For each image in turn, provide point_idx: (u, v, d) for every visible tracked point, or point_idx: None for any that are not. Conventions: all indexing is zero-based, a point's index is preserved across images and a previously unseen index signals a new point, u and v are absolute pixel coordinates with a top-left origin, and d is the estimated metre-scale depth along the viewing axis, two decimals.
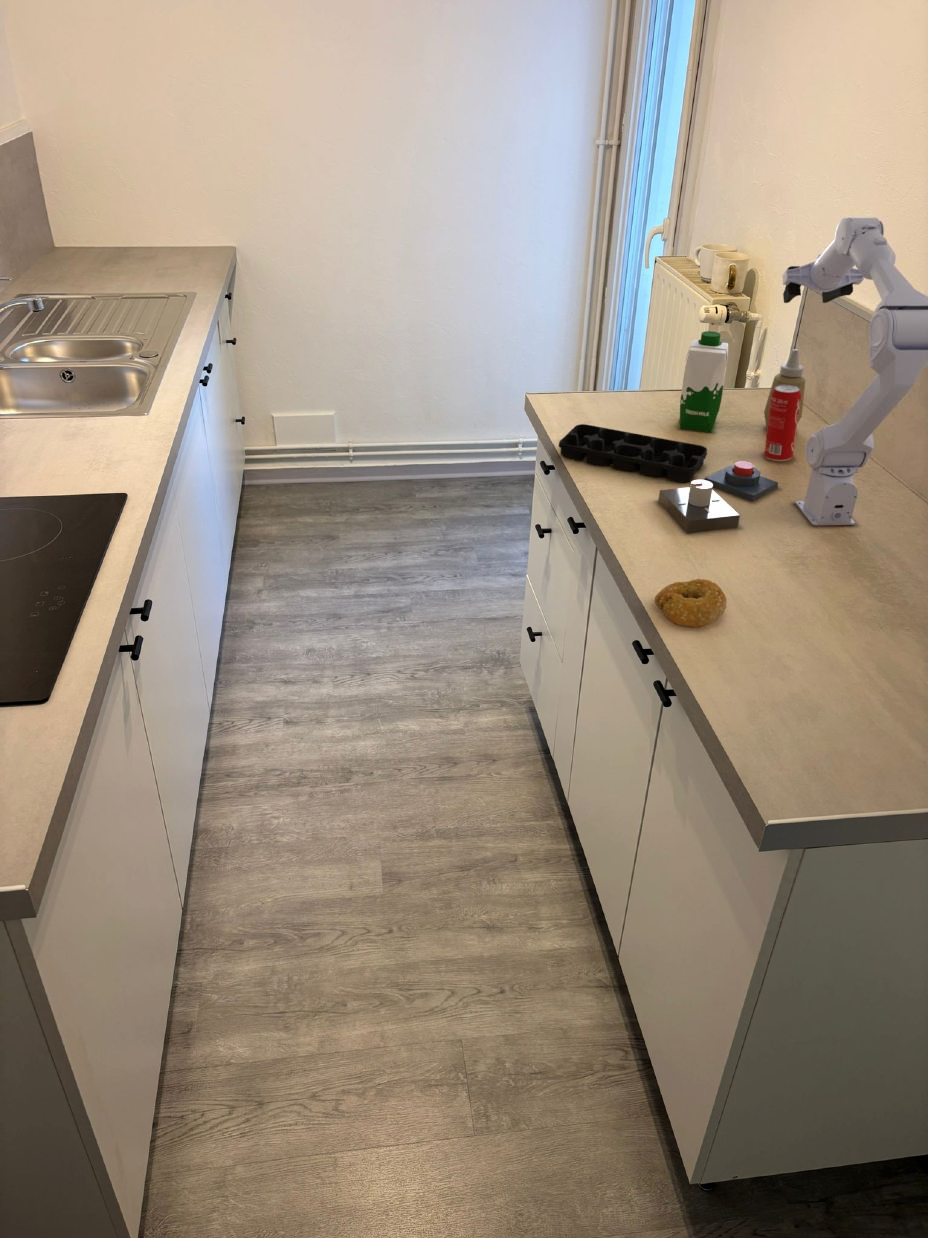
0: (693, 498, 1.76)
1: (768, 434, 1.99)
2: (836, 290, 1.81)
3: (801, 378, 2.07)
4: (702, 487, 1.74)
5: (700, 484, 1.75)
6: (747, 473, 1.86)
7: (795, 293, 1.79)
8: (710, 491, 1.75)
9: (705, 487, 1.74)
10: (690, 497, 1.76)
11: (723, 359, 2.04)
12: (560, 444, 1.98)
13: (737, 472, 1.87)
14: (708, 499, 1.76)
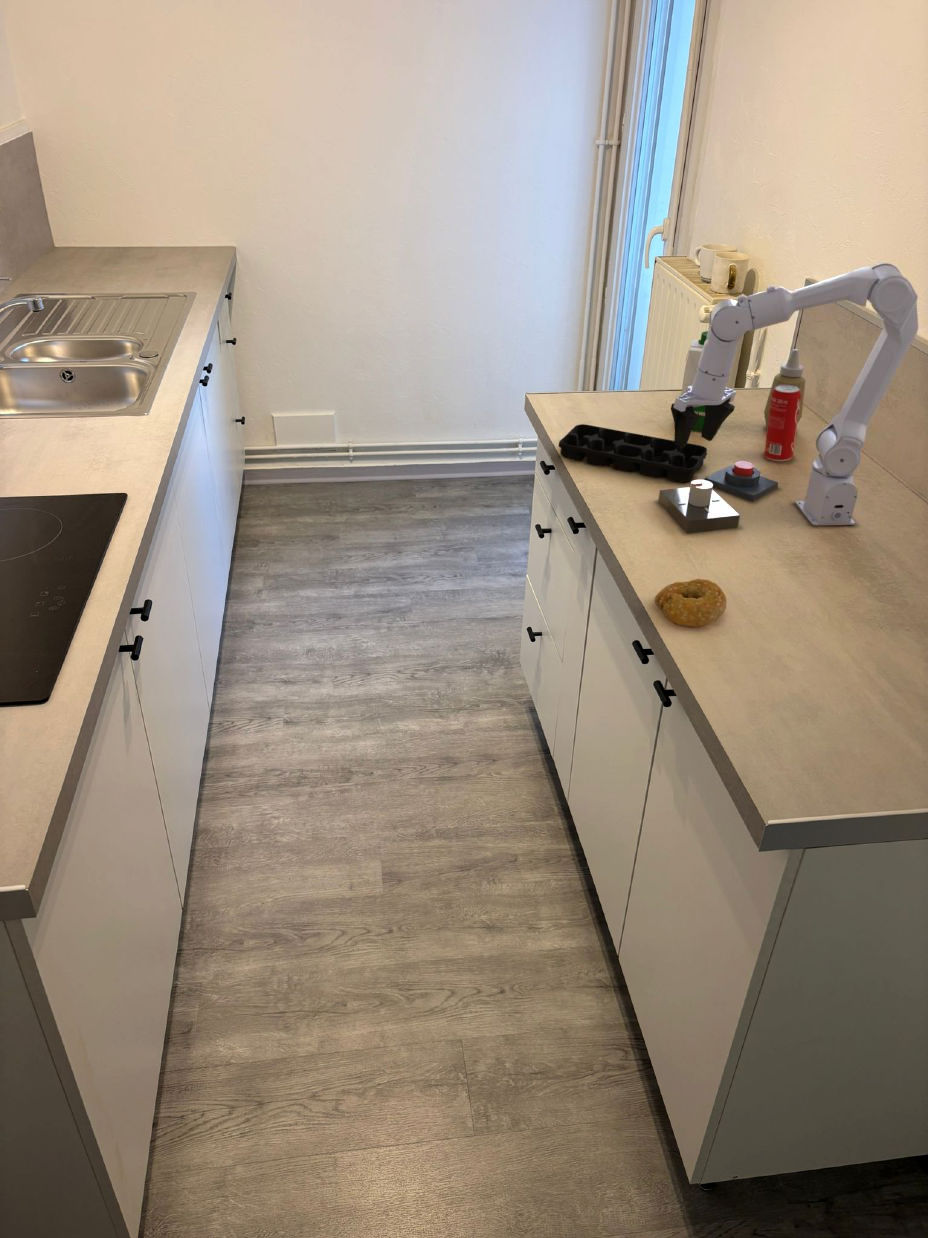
0: (693, 498, 1.76)
1: (768, 434, 1.99)
2: (719, 413, 1.75)
3: (801, 378, 2.07)
4: (702, 487, 1.74)
5: (700, 484, 1.75)
6: (747, 473, 1.86)
7: (696, 415, 1.69)
8: (710, 491, 1.75)
9: (705, 487, 1.74)
10: (690, 497, 1.76)
11: None
12: (560, 444, 1.98)
13: (737, 472, 1.87)
14: (708, 499, 1.76)
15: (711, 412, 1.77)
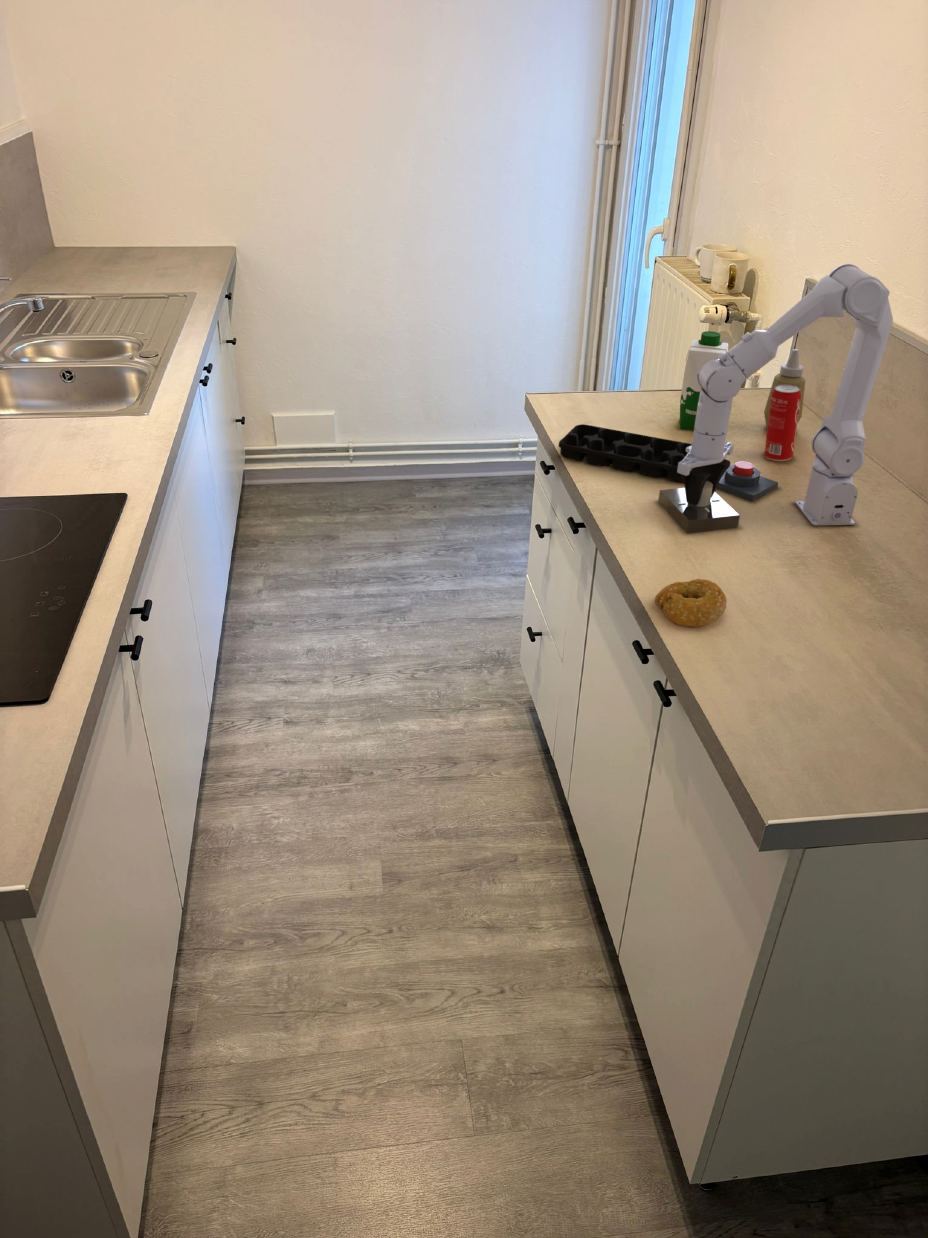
0: None
1: (768, 434, 1.99)
2: (716, 470, 1.75)
3: (801, 378, 2.07)
4: None
5: None
6: (747, 473, 1.86)
7: (706, 474, 1.70)
8: (710, 491, 1.75)
9: (705, 487, 1.74)
10: None
11: None
12: (560, 444, 1.98)
13: (737, 472, 1.87)
14: (708, 499, 1.76)
15: (707, 470, 1.76)
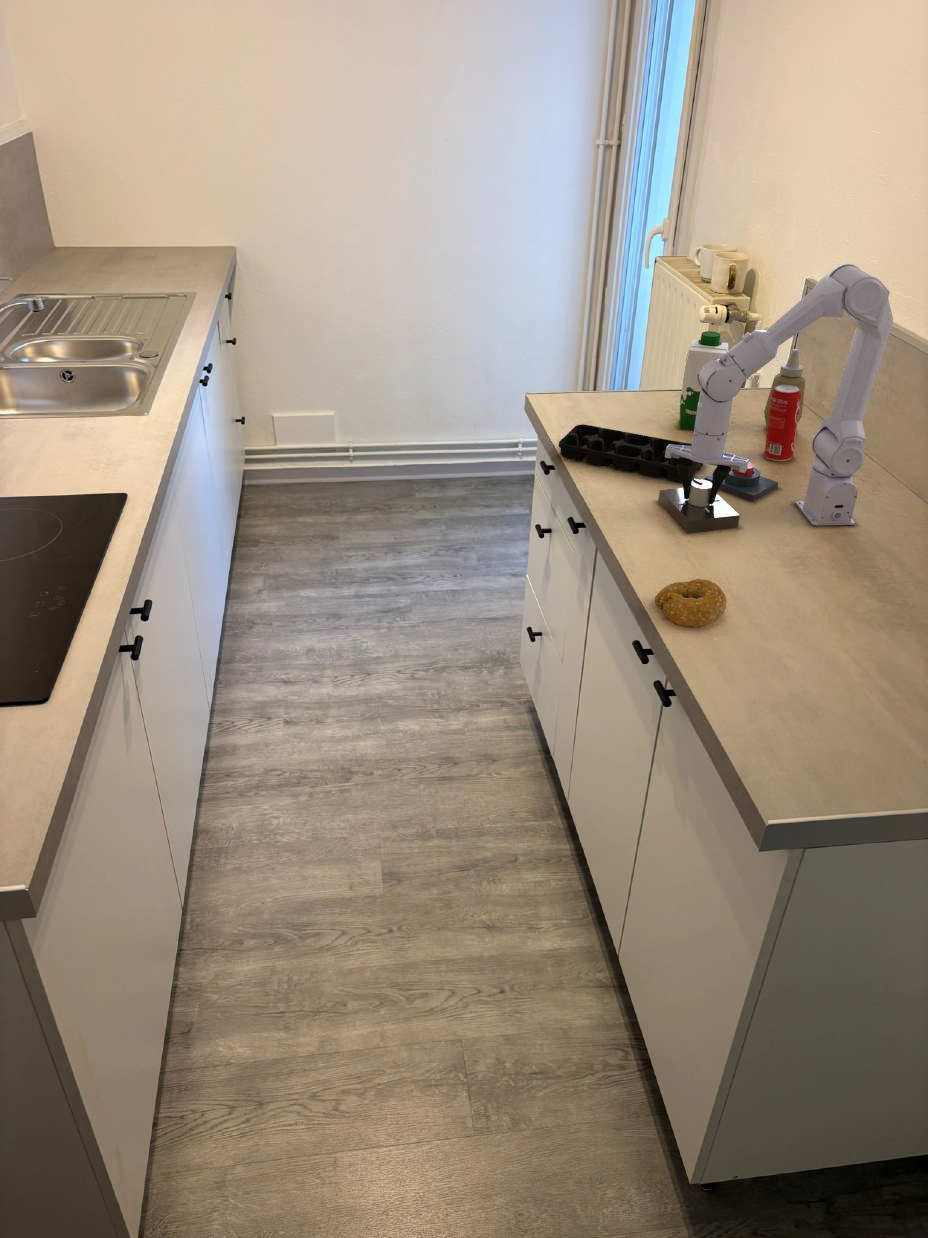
0: None
1: (768, 434, 1.99)
2: None
3: (801, 378, 2.07)
4: (694, 484, 1.75)
5: (698, 483, 1.76)
6: (747, 473, 1.86)
7: (683, 466, 1.73)
8: (699, 492, 1.74)
9: (696, 485, 1.75)
10: None
11: None
12: (560, 444, 1.98)
13: (737, 472, 1.87)
14: (696, 499, 1.75)
15: None
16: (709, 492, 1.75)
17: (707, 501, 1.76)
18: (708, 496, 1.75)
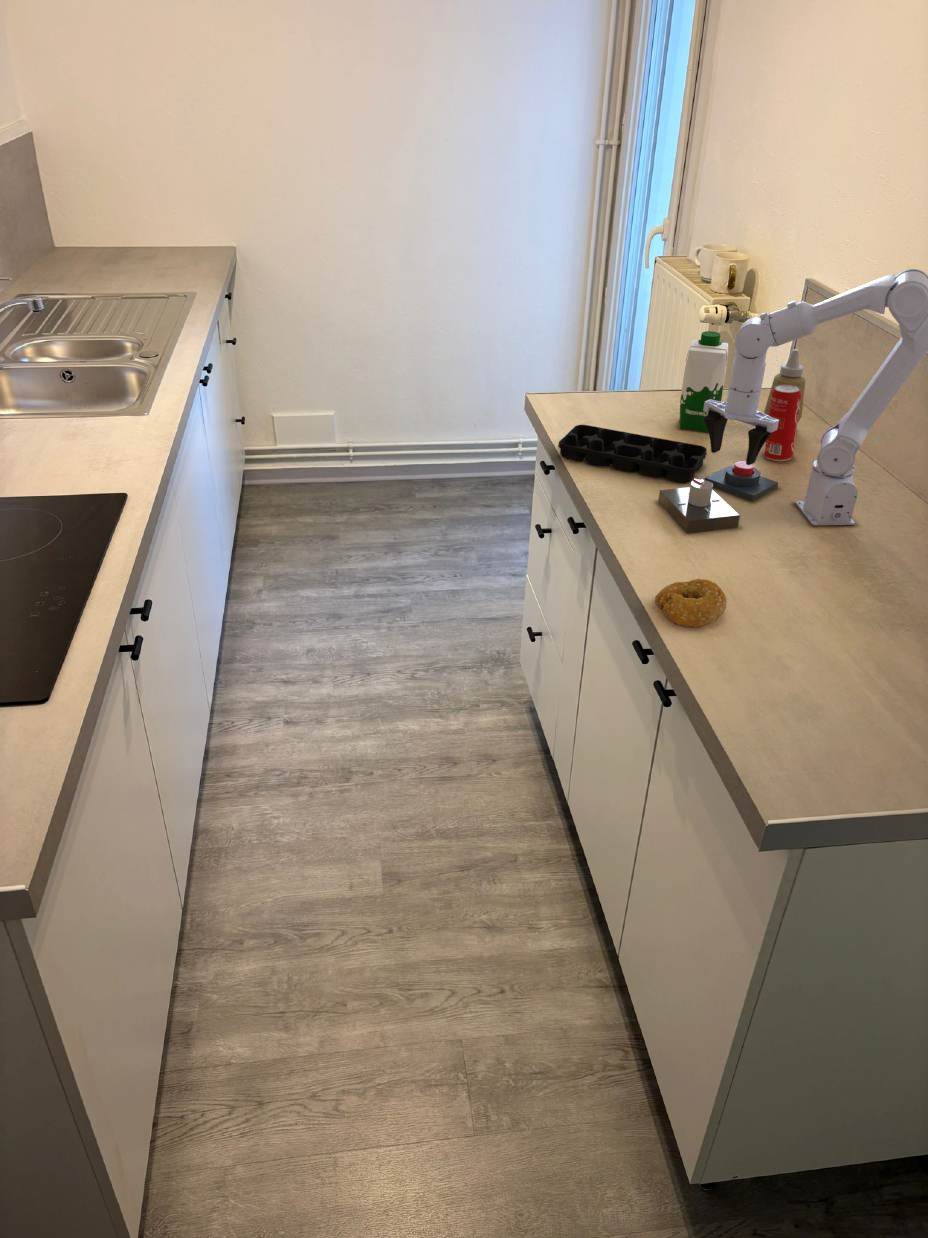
0: None
1: None
2: (724, 422, 1.82)
3: (801, 378, 2.07)
4: (694, 484, 1.75)
5: (698, 483, 1.76)
6: (747, 473, 1.86)
7: None
8: (699, 492, 1.74)
9: (696, 485, 1.75)
10: None
11: (723, 359, 2.04)
12: (560, 444, 1.98)
13: (737, 472, 1.87)
14: (696, 499, 1.75)
15: (718, 427, 1.81)
16: (709, 492, 1.75)
17: (707, 501, 1.76)
18: (708, 496, 1.75)
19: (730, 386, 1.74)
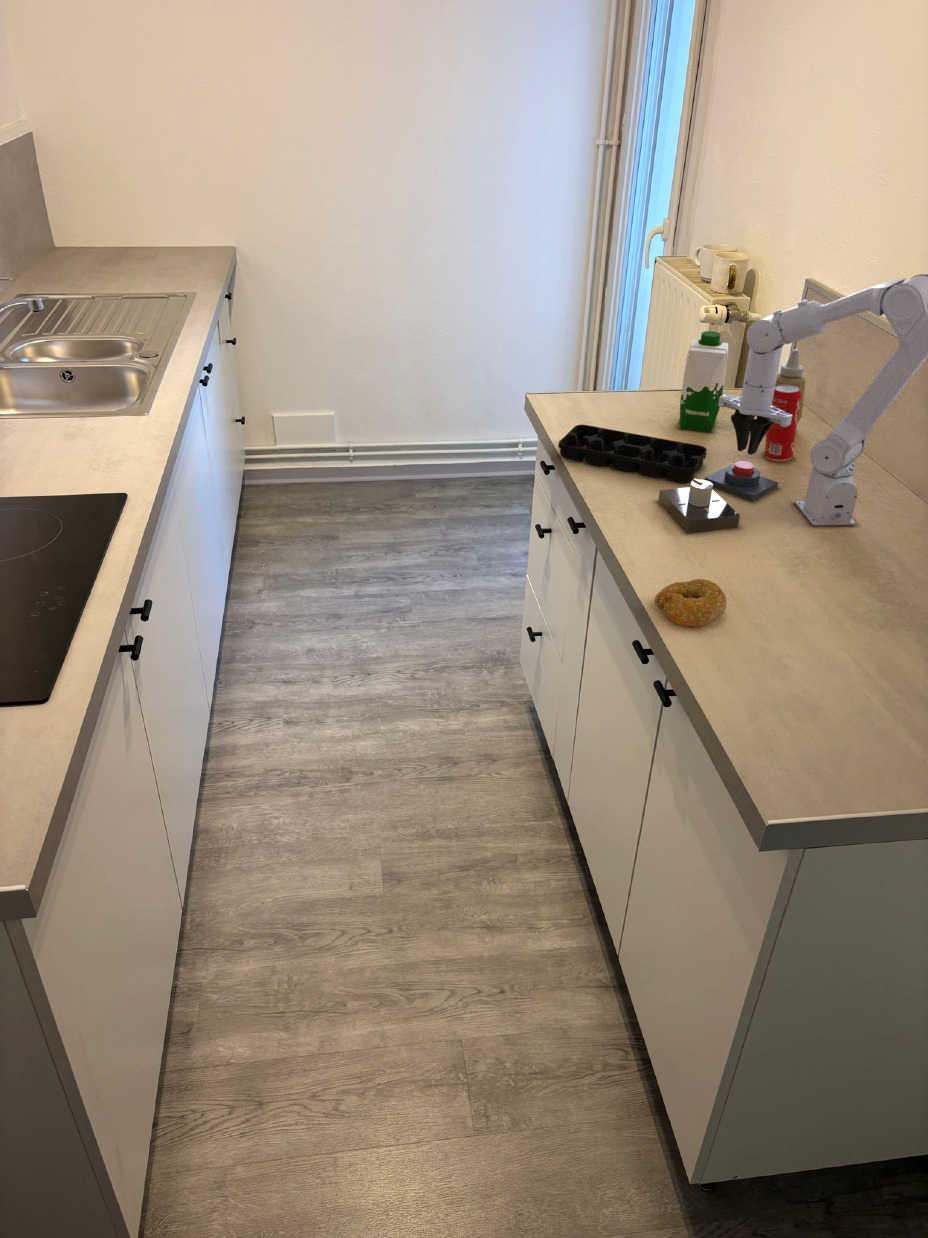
0: None
1: (768, 434, 1.99)
2: (751, 420, 1.84)
3: (801, 378, 2.07)
4: (694, 484, 1.75)
5: (698, 483, 1.76)
6: (747, 473, 1.86)
7: None
8: (699, 492, 1.74)
9: (696, 485, 1.75)
10: None
11: (723, 359, 2.04)
12: (560, 444, 1.98)
13: (737, 472, 1.87)
14: (696, 499, 1.75)
15: (745, 425, 1.83)
16: (709, 492, 1.75)
17: (707, 501, 1.76)
18: (708, 496, 1.75)
19: (744, 380, 1.79)
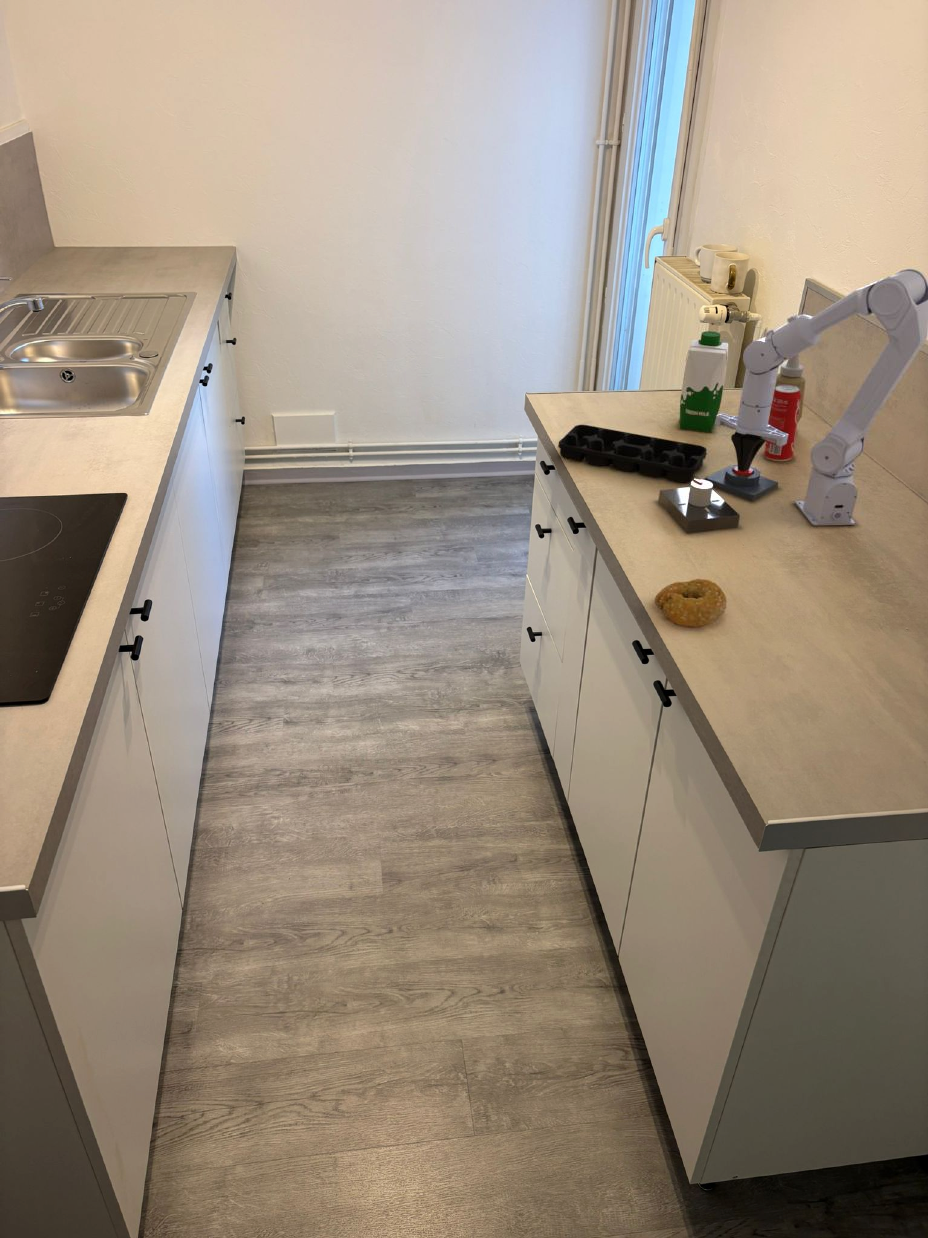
0: None
1: None
2: None
3: (801, 378, 2.07)
4: (694, 484, 1.75)
5: (698, 483, 1.76)
6: None
7: None
8: (699, 492, 1.74)
9: (696, 485, 1.75)
10: None
11: (723, 359, 2.04)
12: (560, 445, 1.98)
13: None
14: (696, 499, 1.75)
15: None
16: (709, 492, 1.75)
17: (707, 501, 1.76)
18: (708, 496, 1.75)
19: None
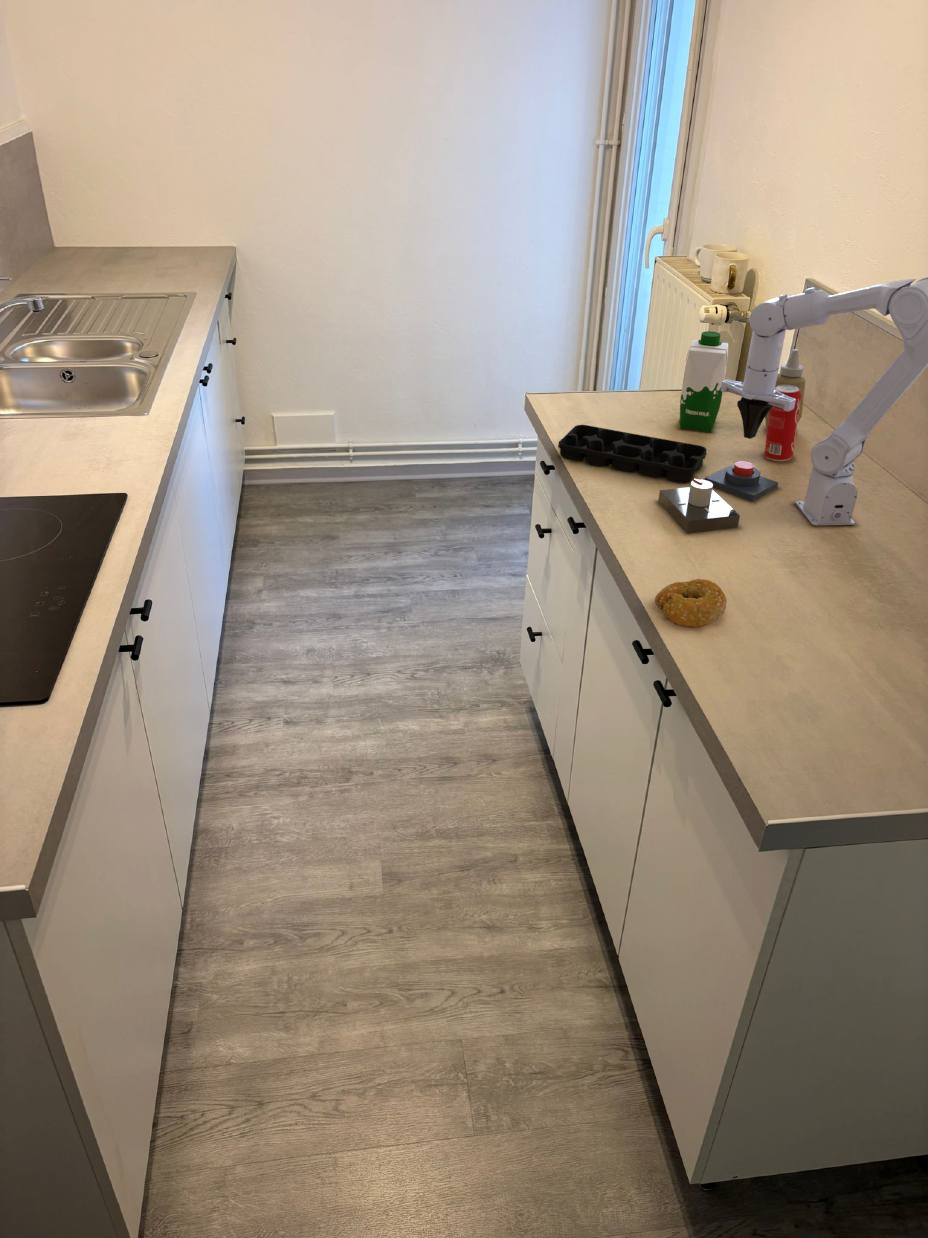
0: None
1: (768, 434, 1.99)
2: None
3: (801, 378, 2.07)
4: (694, 484, 1.75)
5: (698, 483, 1.76)
6: (747, 473, 1.86)
7: None
8: (699, 492, 1.74)
9: (696, 485, 1.75)
10: None
11: (723, 359, 2.04)
12: (559, 445, 1.98)
13: (737, 472, 1.87)
14: (696, 499, 1.75)
15: None
16: (709, 492, 1.75)
17: (707, 501, 1.76)
18: (708, 496, 1.75)
19: None
